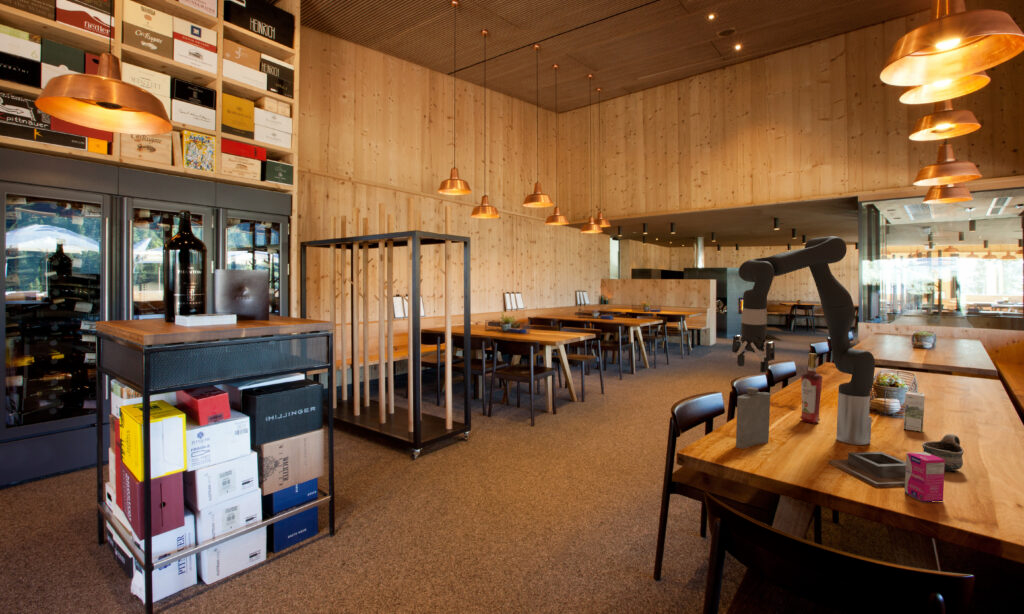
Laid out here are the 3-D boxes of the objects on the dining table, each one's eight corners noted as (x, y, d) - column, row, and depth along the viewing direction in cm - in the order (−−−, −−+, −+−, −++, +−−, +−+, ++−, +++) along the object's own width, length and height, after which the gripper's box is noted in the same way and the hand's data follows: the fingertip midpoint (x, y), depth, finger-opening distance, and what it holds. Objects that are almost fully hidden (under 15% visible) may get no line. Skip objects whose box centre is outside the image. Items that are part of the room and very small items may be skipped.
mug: (916, 466, 150) (917, 435, 149) (929, 458, 157) (931, 428, 156) (957, 477, 142) (959, 443, 141) (969, 468, 149) (971, 436, 148)
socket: (881, 461, 154) (882, 447, 154) (935, 485, 136) (936, 469, 136) (828, 463, 152) (829, 449, 152) (876, 487, 134) (877, 471, 134)
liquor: (795, 420, 199) (798, 353, 198) (807, 418, 202) (809, 352, 201) (812, 425, 192) (815, 355, 191) (824, 423, 196) (827, 354, 194)
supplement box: (903, 493, 131) (905, 451, 130) (923, 492, 131) (925, 451, 131) (923, 503, 125) (925, 460, 124) (944, 502, 125) (946, 459, 125)
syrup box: (922, 429, 188) (924, 392, 187) (922, 433, 183) (924, 395, 183) (903, 426, 192) (905, 390, 191) (903, 430, 187) (905, 393, 186)
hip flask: (742, 449, 164) (744, 391, 163) (731, 445, 168) (733, 389, 167) (770, 442, 172) (772, 386, 171) (759, 438, 176) (761, 384, 174)
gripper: (781, 323, 154) (779, 372, 157) (743, 317, 167) (741, 362, 169) (765, 326, 151) (763, 376, 153) (727, 319, 164) (726, 365, 166)
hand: (751, 369), depth 161 cm, fingers open, 8 cm apart
